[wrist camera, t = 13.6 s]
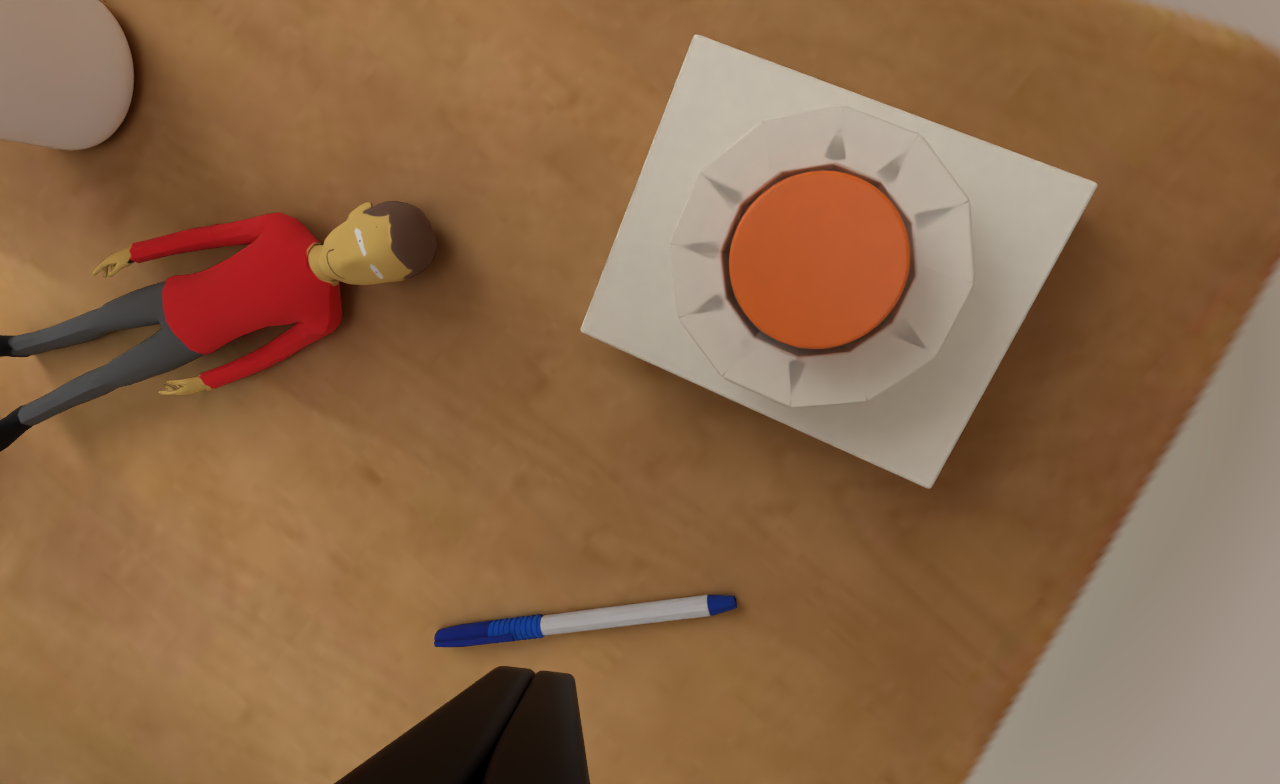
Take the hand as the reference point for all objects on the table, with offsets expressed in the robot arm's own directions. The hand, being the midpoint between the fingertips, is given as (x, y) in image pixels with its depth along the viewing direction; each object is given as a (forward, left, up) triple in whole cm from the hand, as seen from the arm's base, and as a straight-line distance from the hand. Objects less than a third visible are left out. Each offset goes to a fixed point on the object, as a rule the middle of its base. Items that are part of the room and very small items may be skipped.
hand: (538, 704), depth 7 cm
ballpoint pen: (-1, +8, -14) cm, 16 cm away
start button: (+1, -6, -10) cm, 12 cm away
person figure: (+15, +8, -14) cm, 22 cm away
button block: (+1, -6, -14) cm, 15 cm away
